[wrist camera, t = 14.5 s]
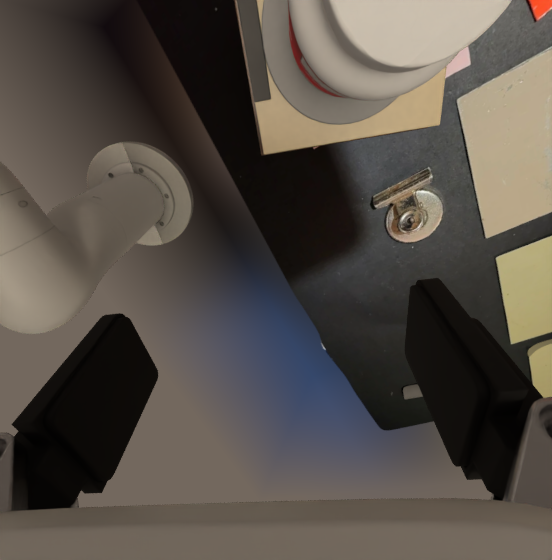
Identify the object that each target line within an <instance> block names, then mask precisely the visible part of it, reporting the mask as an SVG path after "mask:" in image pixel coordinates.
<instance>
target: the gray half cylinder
mask: <svg viewBox="0 0 552 560" xmlns="http://www.w3.org/2000/svg"><path fill="white" fill-rule="evenodd" d="M403 394H404V399H409V398H415V397H421V396H423V395H422V393H421V391H420V388H419V386H418V384H415V385H410V386H406V387H404V389H403Z"/></svg>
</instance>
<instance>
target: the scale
mask: <svg viewBox="0 0 552 560" xmlns="http://www.w3.org/2000/svg"><path fill="white" fill-rule="evenodd" d="M237 4H238V10H239V15H240V21H241V27H242V33H243V39H244V44H245V50H246V56H247V62H248V68H249V73H250V79H251V85H252V91H253V97H254V102H255V105H256V111H257V117H258V123H259V129H260V134H261V140H262V146H263V152H264V154H271V153H277V152H283V151H289V150H295V149H301V148H307V147H312V146H318V145H324V144H330V143H336V142H342V141H348V140H354V139H360V138H366V137H372V136H378V135H384V134H390V133H396V132H401V131H407V130H413V129H419V128H425V127H431V126H437V125H440V119H441V110H442V101H443V92H444V83H445V75H446V67H445V68H444V69H442V70H441V71H440V72H439V73H438V74H437V75H435V76H434V77H433V78H432V79H430V80H429V81H427V82H426V83H425V84H423V85H421V86H419V87H418V88H416V89H414V90H412V91H410V92H408V93H406V94H403V95H400V96H397V97H393V98H389V99H384V100H377V101H369V100H367V101H366V100H358V99H352V98H343V97H336V96H332V95H329V94H326V93H324V92H322V91H320V90H318V89H317V88H315V87H314V86H313V85H312V84H311V83H309V82H308V81H307V79H306V78H305V77H304V75H303V74H302V73H301V71H300V69H299V68H298V66H297V64H296V61H295V59H294V56H293V52H292V49H291V44H290V37H289V13H288V0H237Z"/></svg>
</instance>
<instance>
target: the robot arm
mask: <svg viewBox="0 0 552 560" xmlns="http://www.w3.org/2000/svg"><path fill="white" fill-rule="evenodd" d="M142 168H143V169H144V170H142ZM167 194H169V196H168V195H167ZM174 210H175V201H174V196H173V193H172V191H171V188H170V186H169V185H168V183H167V182H166V180H165V179H164V178H163V177H162V176H161V175H160V174H159V173H158V172H156V171H155V170H154V169H152V168H150V167H149V166H147V165H144V164H141V163H137V162H123V163H120V164H117V165H115V166H113V167H112V168H110V169H109V170H108V171H107V172H106V174H105V175H104V177H103V180H102V184H100V185H98V186H96V187H94V188H92V189H90V190H88V191H86V192H84V193H82V194H79V195H78V196H75V197H73V198H71V199H69V200H67V201H65V202H63V203H61V204H59V205H58V206H56V207H55V208H53V209H52V210H51V211H50V212H49V213H48V214H47V215H46V214H45V213H44V212H43V211H42V209H41V208H40V207H39V206H38V204H37V203H36V202H35V201H34V199H33V198H32V197H31V195H30V194H29V193H28V192H27V190H26V189H25V188H24V187H23V185H22V184H21V183H20V182H19V180H18V179H17V178H16V177H15V176H14V175H13V173H12V172H11V171H10V170H9V169H8V168H7V167H6V166H5V165H3V164H2V163H1V162H0V324H1V325H3V326H4V327H6V328H8V329H11V330H13V331H16V332H20V333H25V334H39V333H44V332H48V331H51V330H54V329H56V328H58V327H60V326H62V325H63V324H65V323H67V322H68V321H70V320H71V319H72V318H73V317H74V316H76V315H77V314H78V313H79V312H80V311H81V309H82V308H83V307H84V306H85V305H86V304H87V302H88V300H89V299H90V298H91V296H92V294H93V293H94V291H95V289H96V287H97V285H98V283H99V282H100V280H101V279H102V277H103V276H104V274H105V273H106V272H107V271H108V270H109V269H110V268H111V267H112V266H113V265H114V264H115V263H116V262H117V261H118V260H119V259H120V258H121V257H122V256H123V255H124V254H125V253H126V252H127V251H128V250H129V249H130V248H131V247H132V246H133V245H134V244H135V243H136V242H137V241H138V240H139V239H140V238H141V237H142V236H143V235H144V234H145V233H154V232H157V231H159V230H161V229H163V228H164V227H165V226H167V224H168V223H169V222H170V221H171V219H172V217H173V214H174ZM163 222H164V223H163ZM405 355H406V359H407V361H408V363H409V366H410V368H411V370H412V372H413V375H414V377H415V379H416V382H417V384H418V386H419V388H420V391H421V393H422V395H423V397H424V400H425V402H426V404H427V406H428V409H429V411H430V413H431V416H432V418H433V420H434V422H435V425H436V427H437V429H438V431H439V434H440V436H441V438H442V440H443V443H444V445H445V447H446V450H447V452H448V454H449V456H450V459H451V460H452V462H453V464H454V465H455V466H461V468H462V470H463V472H464V474H465V476H466V478H467V480H473V479H482V480H483V482H484V484H485V486H486V488H487V490H488V491H489V492H491V493H492V497H491V500H480V499H457V498H451V499H450V498H448V499H447V498H440V499H359V500H358V499H357V500H356V499H355V500H317V501H316V500H314V501H273V502H239V503H207V504H206V503H205V504H173V505H142V506H114V507H86V508H79V506H78V498H77V497H78V495H79V493H80V491H81V490H82V491H83V492H84V493H102V491H103V489H104V487H105V485H106V483H107V481H108V480H110V479H111V478H112V476H113V475H114V473H115V471H116V469H117V466H118V464H119V462H120V460H121V458H122V456H123V453H124V451H125V449H126V447H127V445H128V442H129V440H130V438H131V436H132V434H133V432H134V429H135V427H136V425H137V423H138V421H139V419H140V416H141V414H142V412H143V410H144V408H145V405H146V403H147V401H148V399H149V397H150V395H151V392H152V390H153V388H154V386H155V384H156V381H157V379H158V370H157V368H156V366H155V364H154V363H153V361H152V359H151V357H150V355H149V353H148V351H147V350H146V348H145V346H144V344H143V342H142V340H141V339H140V337H139V335H138V333H137V331H136V329H135V327H134V326H133V324H132V322H131V320H130V319H129V318H128V317H125V316H124V315H123V314H112V315H104V316H102V318H100V319H99V321H98V322H97V323H96V324H95V325H94V327H93V328H92V329H91V330H90V331H89V333H88V334H87V335H86V336H85V337H84V339H83V340H82V341H81V342H80V344H79V345H78V346H77V347H76V348H75V349H74V351H73V352H72V353H71V354H70V355H69V357H68V358H67V359H66V360H65V361H64V363H63V364H62V365H61V366H60V367H59V368H58V370H57V371H56V372H55V373H54V375H53V376H52V377H51V378H50V379H49V380H48V382H47V383H46V384H45V385H44V387H43V388H42V389H41V390H40V391H39V392H38V394H37V395H36V396H35V397H34V398H33V400H32V401H31V402H30V403H29V404H28V406H27V407H26V408H25V409H24V411H23V412H22V413H21V414H20V415H19V416H18V418H17V419H16V420H15V421H14V422H13V424H12V425H13V426H14V427H15V428H16V429H17V430H18V433H17V434H16V435H15V436H14V437H13V436H12V435H11V434H9V433H3V432H1V433H0V560H552V397H547V398H543V397H542V395H541V394H540V393H539V392H538V391H537V389H536V388H535V387H534V386H533V385H532V383H531V382H530V381H529V380H528V379H527V377H526V376H525V375H524V374H523V373H522V371H521V370H520V369H519V368H518V367H517V365H516V364H515V363H514V362H513V361H512V359H511V358H510V357H509V356H508V355H507V353H506V352H505V351H504V350H503V349H502V347H501V346H500V345H499V344H498V343H497V341H496V340H495V339H494V338H493V337H492V335H491V334H490V333H489V332H488V331H487V329H486V328H485V327H484V326H483V325H482V323H481V322H479V321H478V320H477V319H475V318H471V317H470V316H469V315H468V314H467V312H466V311H465V310H464V309H463V307H462V306H461V305H460V304H459V302H458V301H457V300H456V299H455V298H454V296H453V295H452V294H451V293H450V291H449V290H448V289H447V288H446V286H445V285H444V284H443V283H442V281H441V280H440V279H438V278H433V279H425V280H418V281H417V282H416V285H413V286H411V287H410V295H409V306H408V317H407V328H406V339H405Z"/></svg>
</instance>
